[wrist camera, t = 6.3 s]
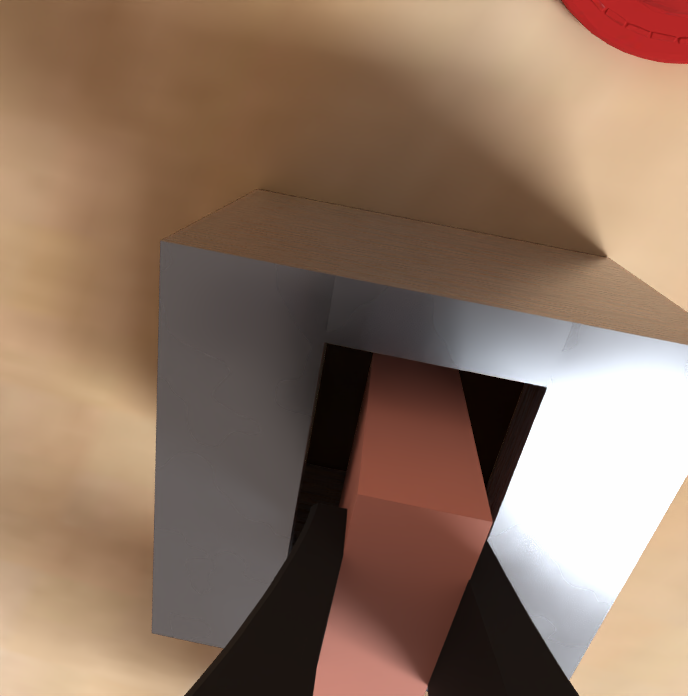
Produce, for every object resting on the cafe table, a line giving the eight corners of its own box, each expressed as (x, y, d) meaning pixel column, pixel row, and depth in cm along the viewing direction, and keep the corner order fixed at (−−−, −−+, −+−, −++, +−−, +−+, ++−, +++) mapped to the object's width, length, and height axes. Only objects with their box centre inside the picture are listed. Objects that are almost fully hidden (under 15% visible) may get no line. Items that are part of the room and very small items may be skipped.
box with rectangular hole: (501, 526, 19) (547, 717, 13) (229, 470, 19) (151, 633, 13) (609, 257, 14) (753, 357, 9) (257, 189, 15) (160, 240, 9)
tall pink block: (408, 527, 14) (412, 722, 10) (337, 512, 14) (308, 700, 10) (458, 367, 12) (493, 522, 8) (373, 350, 12) (357, 494, 8)
